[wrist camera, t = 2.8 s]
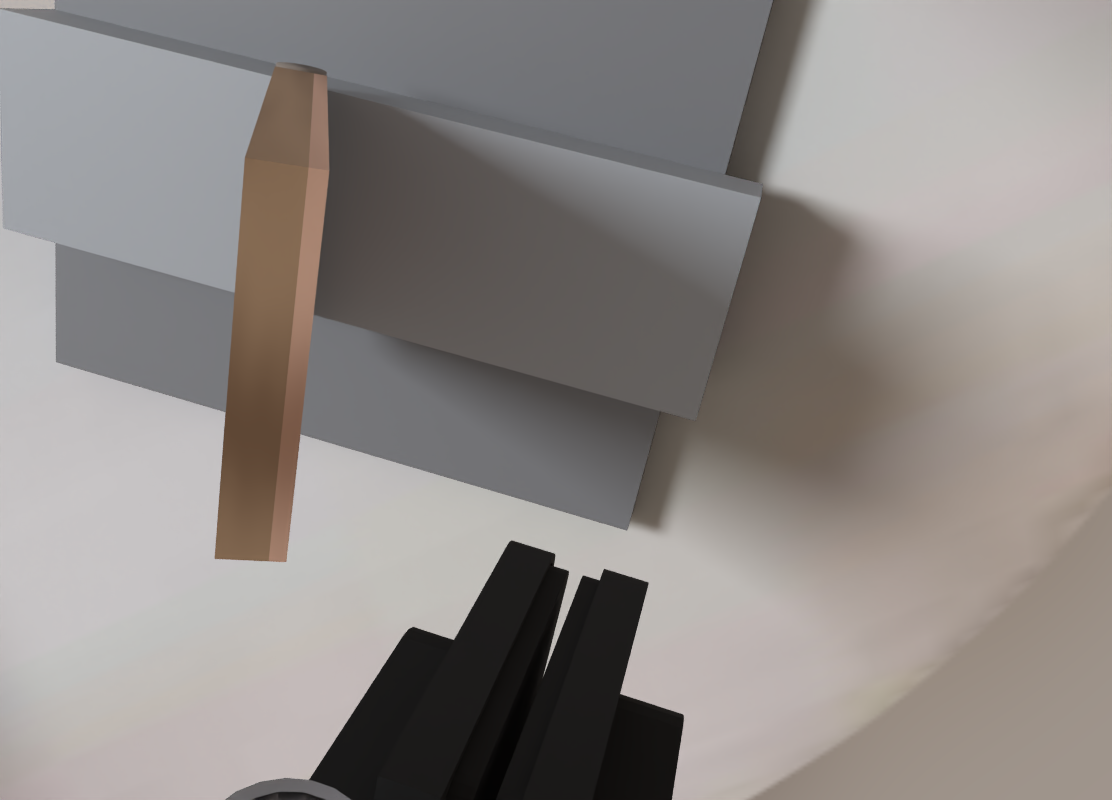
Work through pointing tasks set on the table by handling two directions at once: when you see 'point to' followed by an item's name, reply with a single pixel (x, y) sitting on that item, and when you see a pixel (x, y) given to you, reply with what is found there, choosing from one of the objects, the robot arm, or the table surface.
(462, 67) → the grey ridged base plate
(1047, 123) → the table surface
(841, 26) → the table surface
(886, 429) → the table surface
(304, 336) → the flap
